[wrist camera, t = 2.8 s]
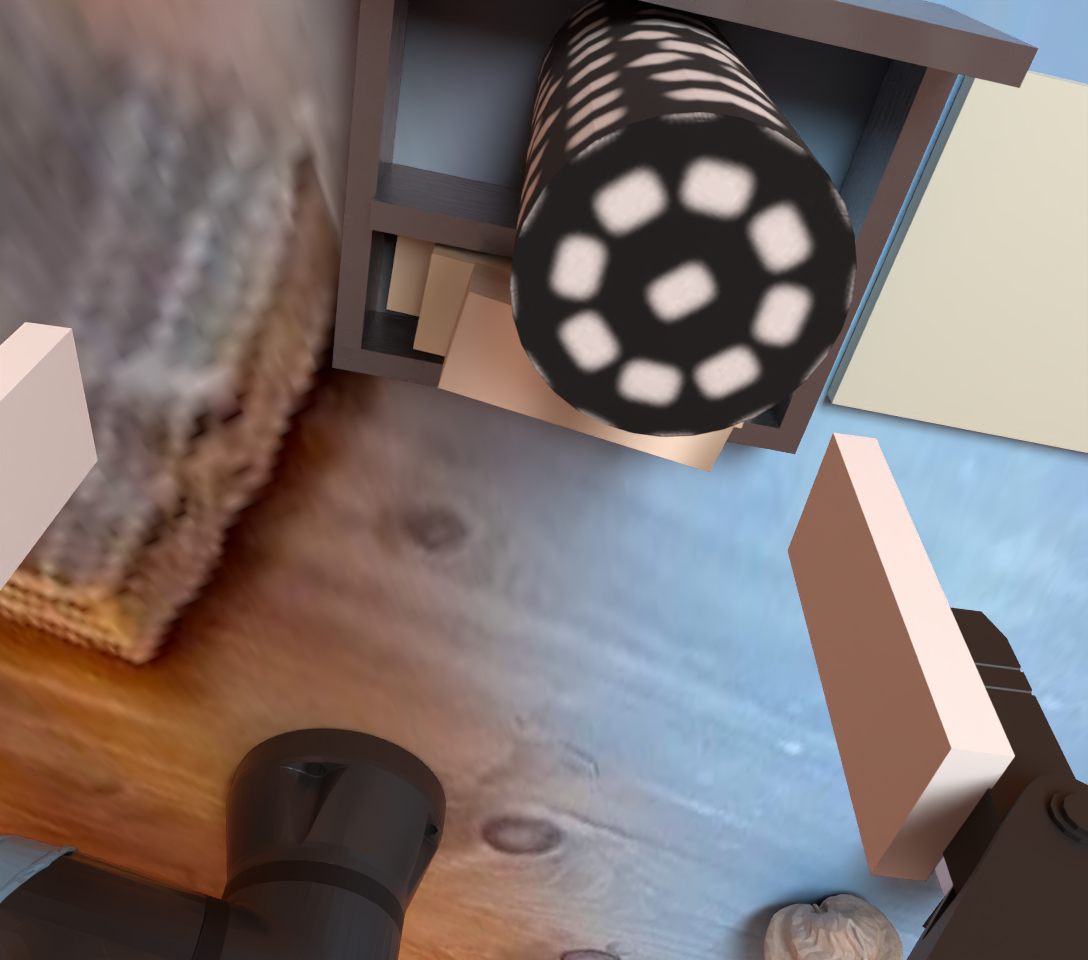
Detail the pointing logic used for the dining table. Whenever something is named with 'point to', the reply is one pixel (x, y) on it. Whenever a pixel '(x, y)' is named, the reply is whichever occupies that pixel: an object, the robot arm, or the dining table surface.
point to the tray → (492, 211)
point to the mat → (988, 275)
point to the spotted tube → (671, 229)
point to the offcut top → (536, 375)
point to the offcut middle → (450, 294)
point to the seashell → (832, 932)
